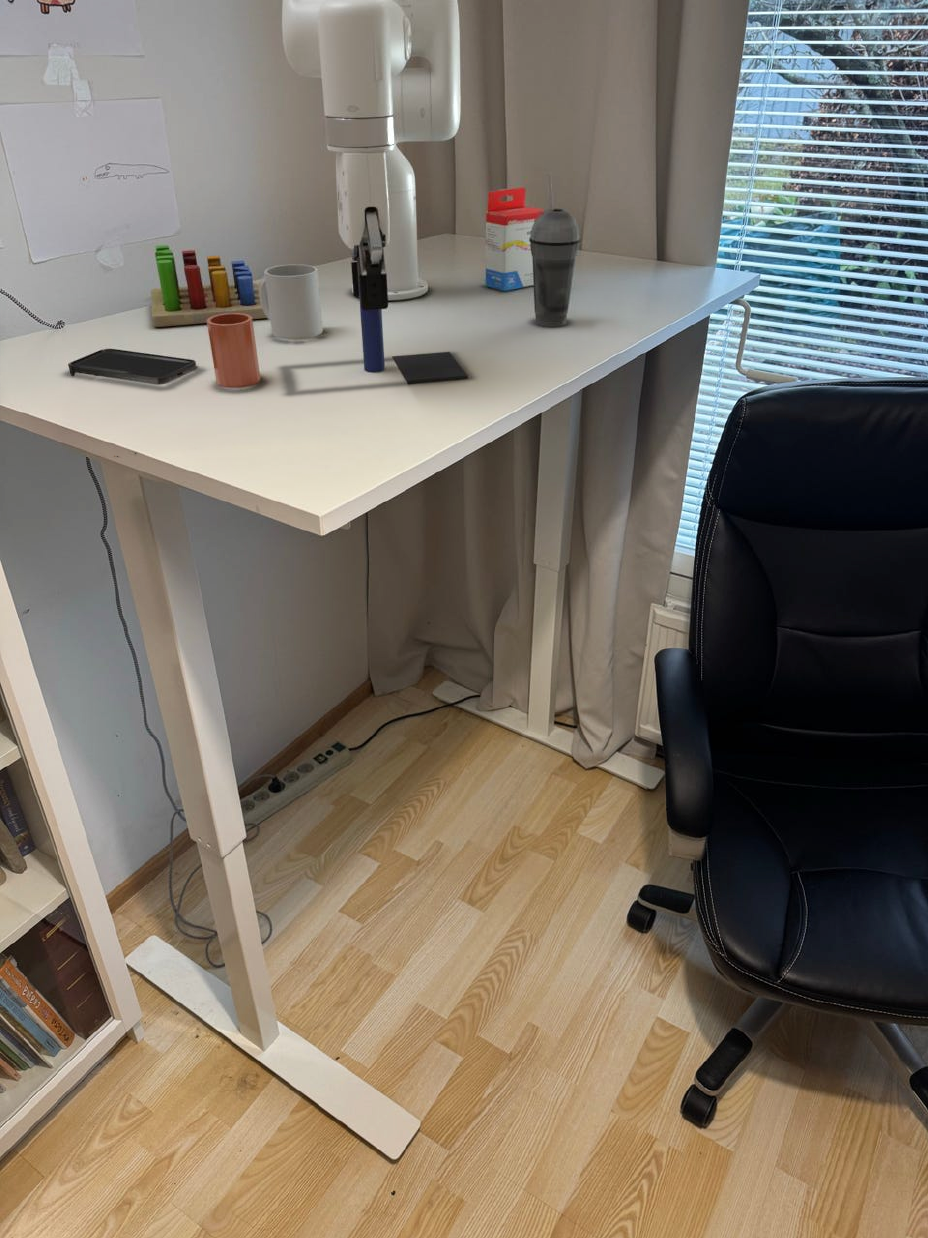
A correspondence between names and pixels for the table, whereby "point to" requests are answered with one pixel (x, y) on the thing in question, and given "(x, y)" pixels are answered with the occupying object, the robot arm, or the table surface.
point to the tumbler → (233, 349)
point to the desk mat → (429, 367)
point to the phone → (132, 366)
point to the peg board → (201, 291)
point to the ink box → (509, 240)
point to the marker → (371, 336)
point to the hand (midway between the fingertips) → (370, 300)
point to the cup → (292, 301)
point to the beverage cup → (553, 263)
